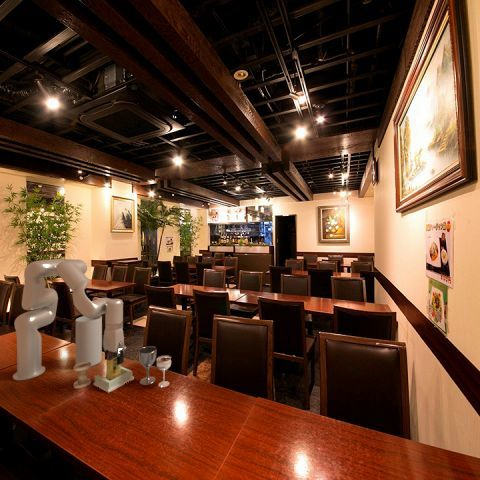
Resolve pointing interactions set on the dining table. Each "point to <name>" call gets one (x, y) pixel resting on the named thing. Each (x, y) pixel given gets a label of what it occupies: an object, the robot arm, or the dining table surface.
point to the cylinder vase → (89, 340)
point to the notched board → (115, 383)
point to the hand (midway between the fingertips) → (114, 361)
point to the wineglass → (163, 368)
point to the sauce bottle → (112, 366)
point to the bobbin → (82, 375)
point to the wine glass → (147, 362)
